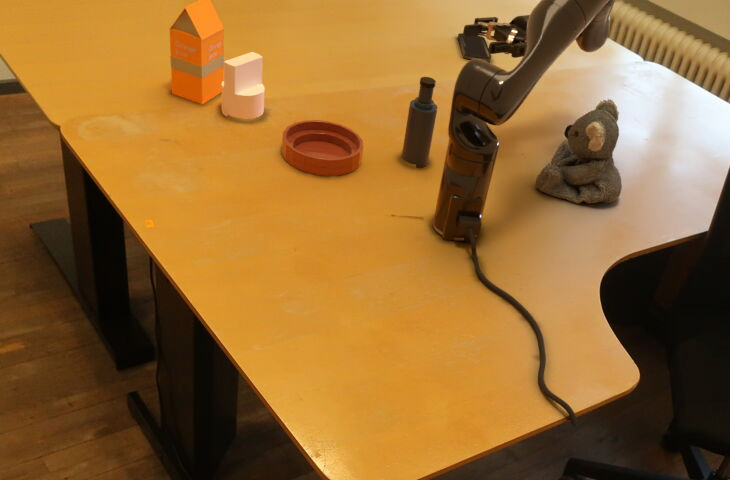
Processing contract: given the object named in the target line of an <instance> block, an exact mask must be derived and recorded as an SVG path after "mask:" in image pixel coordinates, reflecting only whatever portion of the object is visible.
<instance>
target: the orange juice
mask: <svg viewBox="0 0 730 480" xmlns="http://www.w3.org/2000/svg"><path fill="white" fill-rule="evenodd" d="M211 1H212V0H197V1H195V2H192V3H190V4H188V5H186V6H184V9H183V10H182V11H181V13H180V14H179V16H178V17H177V18H176V19H175V21H174V22H173V23H172V25H171V26H170V27H169V46H170V48H169V49H170V56H169V57H170V72H171V74H170V75H171V93H172V95H174V96H178V97H181V98H183V99H186V100H189V101H192V102H194V103H198V104H200V105H204V104H206V103H207V102H209V101H210V100H212V99H213V98H215V97H216V96H218V95H219V94H222V82H223V81H224V61H225V53H224V52H225V41H224V40H225V26H224V25H223V23H222V21H221V19H220V17H219V15H218V13H217V11H216V9H215V7H214V6H213V3H212V2H211Z"/></svg>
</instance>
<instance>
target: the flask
mask: <svg viewBox="0 0 730 480" xmlns="http://www.w3.org/2000/svg"><path fill="white" fill-rule="evenodd" d="M436 84H437V81H436V80H435V79H434V78H433V77H429V76H422V77H420V78H419V85H420V86H419V89H418V90H419V91H418V95H417V96H416V97H415V98H414V99H412V100H410V102H409V107H408V113H407V120H406V125H405V133H404V139H403V145H402V152H401V158H402V159H403V161H404V162H406V163H408V164H411V165H415V167H416V169H420V168H425V167H427V166H428V163H429V157H430V152H431V147H432V141H433V135H434V130H435V129H434V128H435V125H436V124H435V123H436V118H437V114H438V105H437V104H436V103H435V102H434V100H433V96H434V90H435V87H436Z"/></svg>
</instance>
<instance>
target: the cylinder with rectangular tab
mask: <svg viewBox="0 0 730 480" xmlns="http://www.w3.org/2000/svg"><path fill="white" fill-rule="evenodd" d="M263 59H264V57H263V56H262V55H261V54H259V53H257V52H254V51H251V52H248V53H244V54H242V55H238V56H235V57H232V58H230V59H226V60H224V81H223V82H222V92H221V113H222V114H223V115H224V117H227V118H228V116H230V117H233V118H237V119H242V120H243V119H247V120H248V119H256V118H259V117H261V116H262V115H263V114H264V111H265V92H266V91H265V89H266V87H265V85H264V84H263V65H264V64H263V63H264V62H263V61H264V60H263Z"/></svg>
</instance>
